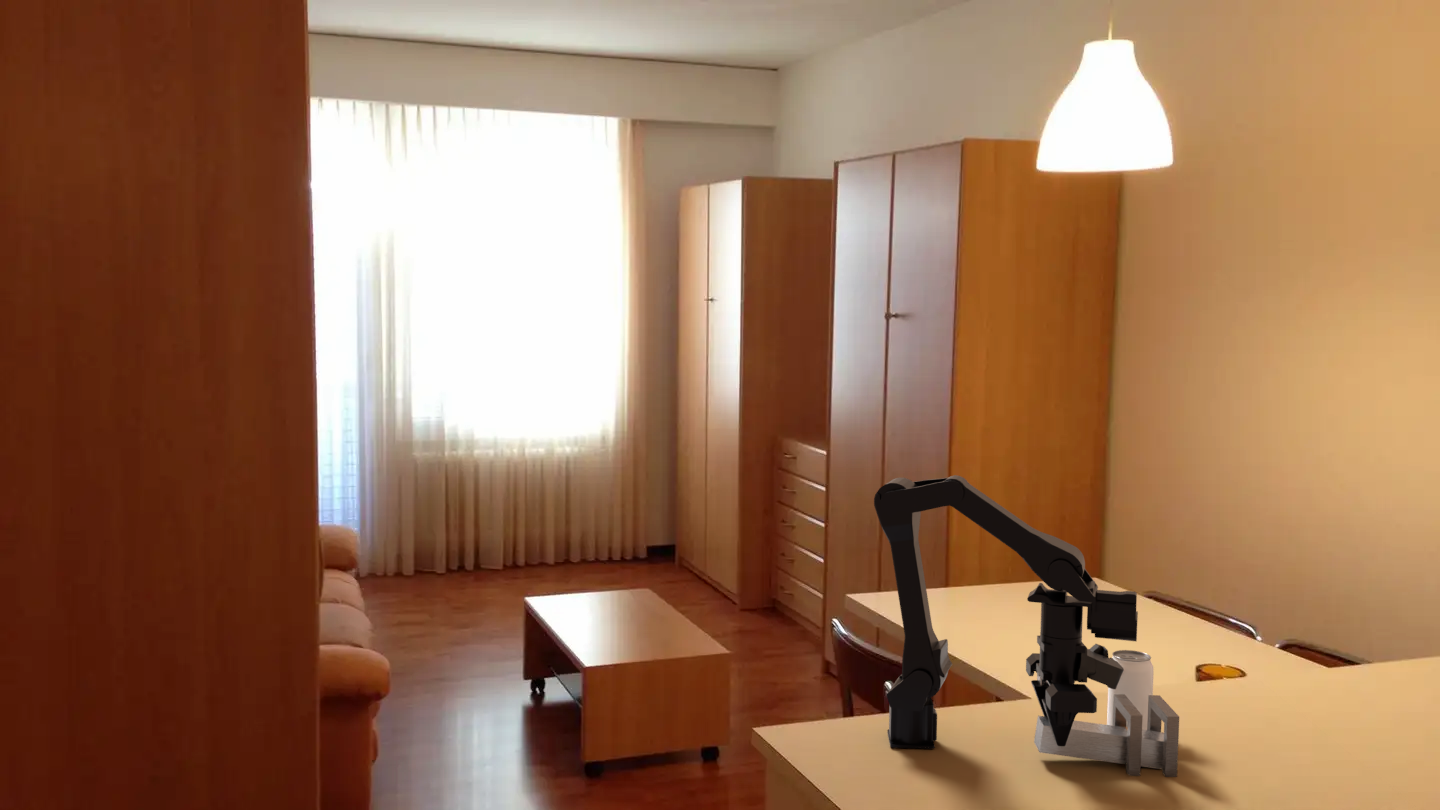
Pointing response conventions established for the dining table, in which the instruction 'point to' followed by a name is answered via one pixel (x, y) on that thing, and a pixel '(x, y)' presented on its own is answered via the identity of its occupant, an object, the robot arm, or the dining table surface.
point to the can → (1133, 682)
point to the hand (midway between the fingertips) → (1057, 740)
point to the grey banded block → (1099, 743)
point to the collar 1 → (1129, 731)
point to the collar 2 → (1165, 731)
